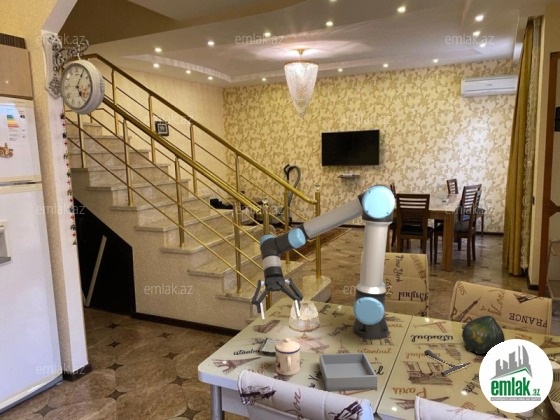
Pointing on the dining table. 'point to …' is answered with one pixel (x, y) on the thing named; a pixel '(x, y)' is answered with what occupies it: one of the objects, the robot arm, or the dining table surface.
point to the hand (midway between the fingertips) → (280, 319)
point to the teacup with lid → (287, 357)
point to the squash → (482, 334)
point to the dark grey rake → (446, 363)
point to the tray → (347, 372)
